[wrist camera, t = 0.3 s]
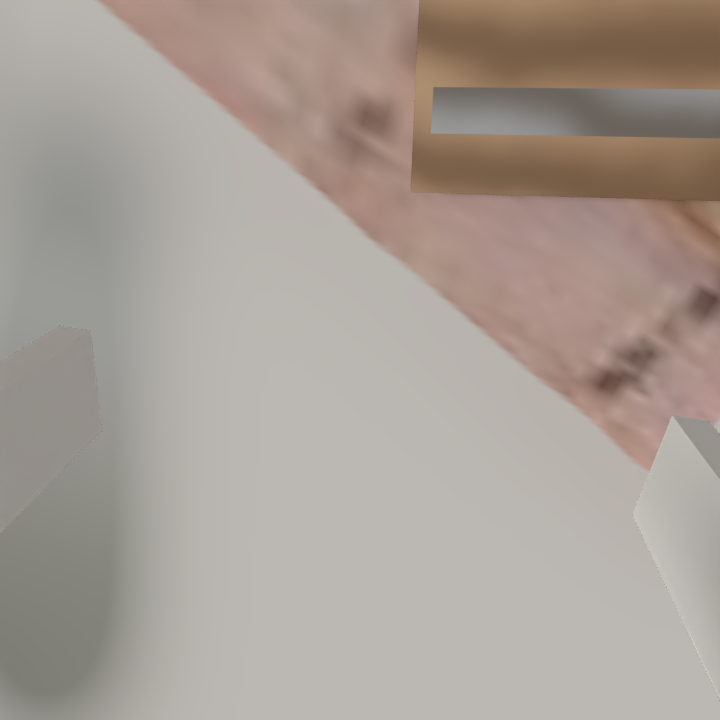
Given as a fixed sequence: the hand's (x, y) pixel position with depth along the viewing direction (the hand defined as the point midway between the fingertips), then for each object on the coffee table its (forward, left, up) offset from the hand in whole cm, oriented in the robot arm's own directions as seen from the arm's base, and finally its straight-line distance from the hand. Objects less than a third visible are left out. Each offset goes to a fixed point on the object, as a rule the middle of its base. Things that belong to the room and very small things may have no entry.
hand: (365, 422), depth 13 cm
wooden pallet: (-10, +10, -27) cm, 30 cm away
